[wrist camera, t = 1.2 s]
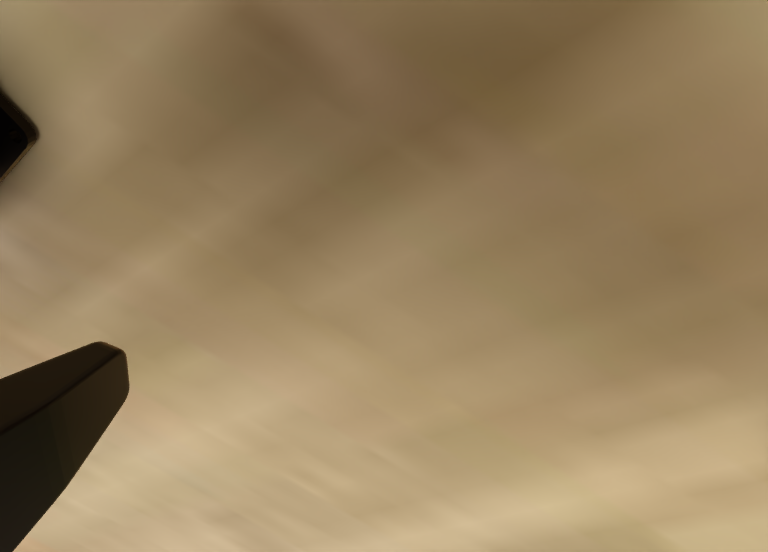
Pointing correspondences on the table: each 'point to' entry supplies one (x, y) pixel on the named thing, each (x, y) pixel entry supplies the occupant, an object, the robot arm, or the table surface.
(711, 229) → the table surface
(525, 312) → the table surface
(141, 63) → the table surface
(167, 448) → the table surface
